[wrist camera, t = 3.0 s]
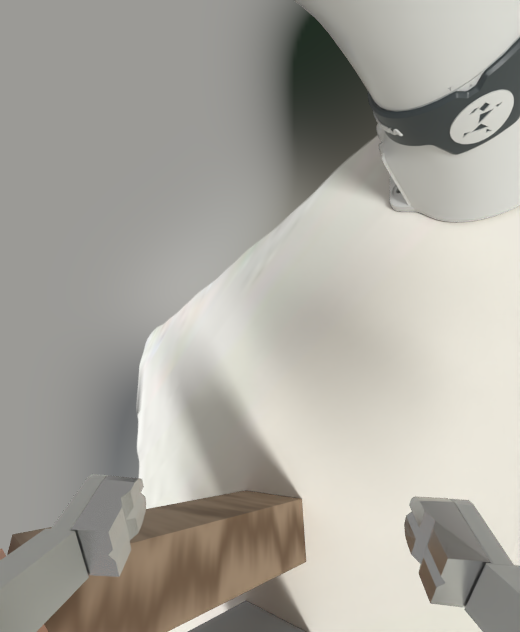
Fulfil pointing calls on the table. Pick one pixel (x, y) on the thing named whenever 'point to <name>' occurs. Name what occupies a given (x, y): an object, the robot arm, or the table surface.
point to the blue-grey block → (246, 621)
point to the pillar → (187, 563)
